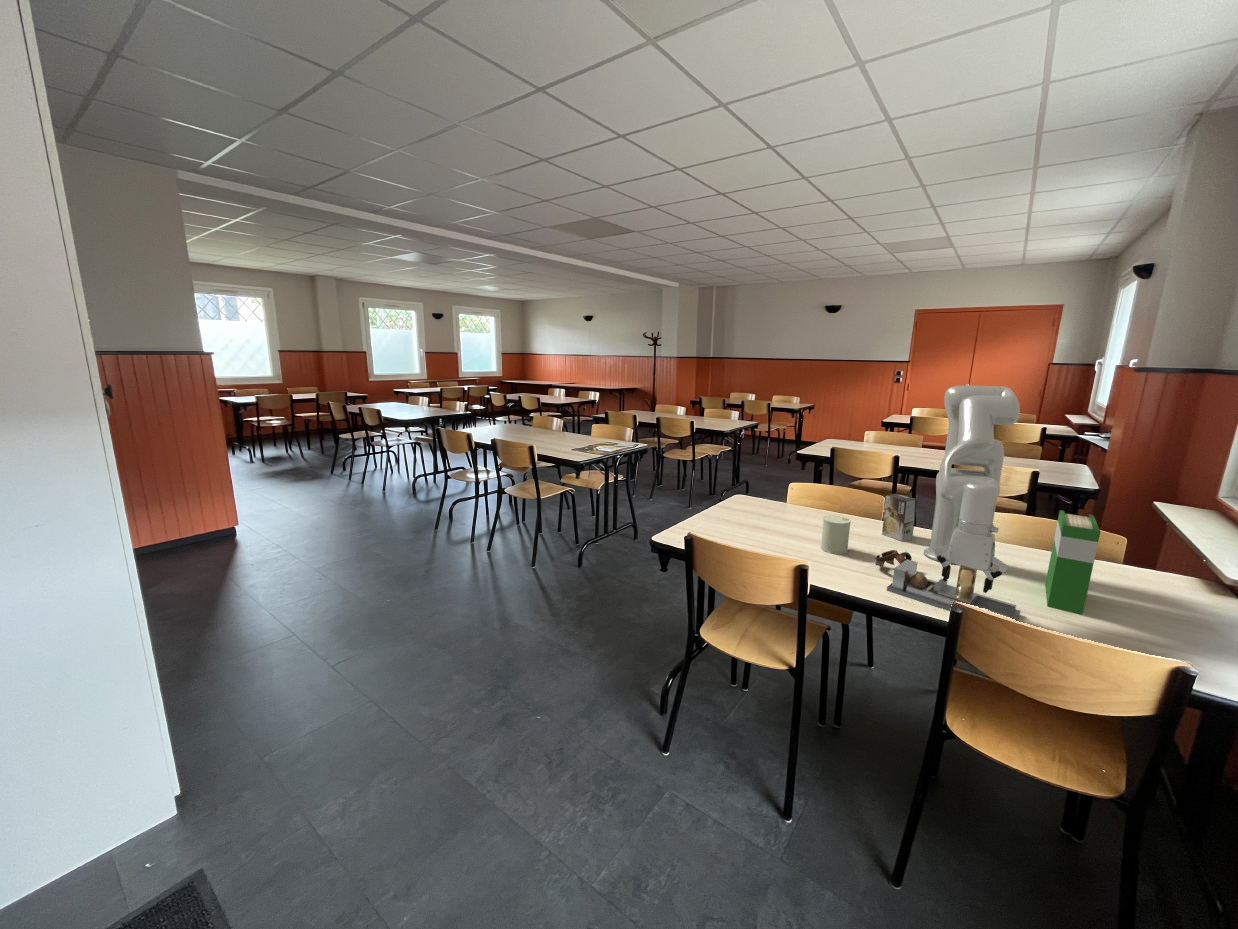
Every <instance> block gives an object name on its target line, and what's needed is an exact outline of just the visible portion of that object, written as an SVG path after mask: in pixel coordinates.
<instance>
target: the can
mask: <svg viewBox="0 0 1238 929" xmlns="http://www.w3.org/2000/svg"><path fill="white" fill-rule="evenodd" d="M851 522H852V521H851V519H850V518H849V517H845V516H841V515H836V514H834V515H833V514H831V515H830V514H829V515H824V516H823V520H822V532H821V543H820V550H822V551H823V552H825V553H828V554H834V555H845V554H847V553H848V552H849V548H848V547H849V541H850V540H849V538H850V529H851Z"/></svg>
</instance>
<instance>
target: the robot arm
mask: <svg viewBox="0 0 1238 929" xmlns="http://www.w3.org/2000/svg"><path fill="white" fill-rule="evenodd" d="M1019 402H1020V401H1019V399H1018V397H1017V395H1016V393H1015V392H1014V391H1013V389H1011V388H1010V387H1008V386H999V385H998V386H996V385H994V386H993V385H956V386H955V385H954V386H951V387H949V388H948V389H946V391H945V393H944V400H943V403H944V410H945V413H946V416H947V420H948V426H947V434H946V440H945V441H946V443H945V450H944V456H943V457H942V460H941V462H940V464H939V465H940V466H939V472H937V474H936V479H935V491H936V493H935V494H936V495H935V507H934V514H933V520H932V521H933V522H932V529H931V536H930V541H929V542H930V544H929V546H928V547H925V549H924V550H923V555H925V556H926V557H927V558H928V559H931V560H934V561H935V562H939V563H940V564H941V565H940V566H941V567H942V569H941V577H942V579H943V581H947V580H949V579H950V576H951V575H950V574H951V569H952V566H951V564H955V565H957V566H965V567H968V568H972V569H976V570H977V571H981V572H983V574H985V576H986V577H985V579H984V581H983V582H984V584H983V588H982V592H983V593H985V594H987V593H988V592H989V591H991V590H992V589H993V583H994V580H995V579H997V578H999V577H1001V576H1002V575H1003V574H1004V573H1006V571H1007V570H1008V569H1009V566H1008V565H1007V564H1006V563H1004V561H1003V560H1000V559H999V558H997V557H996V556H995V555H996V554H995V553H996V552H995V551H996V536H995V534H994V533H999V530H1000V529H999V527H996V526H995V525H994V518H995V513H996V507H997V500H998V498H999V496H1000V492H1001V491H1000V490H1001V486H1000V482H1001V475H1002V471H1003V470H1002V469H1003V465H1004V457H1005V449H1004V445H1003V442H1002V441H1000V440H999V439H997V438H996V439H995V438H994V434H995V433H994V429H995V428H994V426H995V425H999V426H1000V425H1002V426H1012V425H1014V424H1016V423H1017V421H1018V420H1019V417H1020V414H1021V413H1020V412H1021V411H1020V410H1021V409H1020V403H1019ZM953 465H957V466H966V467H976V468H977V467H979V468H983V470H978V469H977V470H976V469H968V468H957V467H956V468H955V467H954V468H953V467H952V466H953ZM994 565H995V566H997V567H998V568H999V569H998V570H996V571H994V570H993V569H992V568H993V566H994Z"/></svg>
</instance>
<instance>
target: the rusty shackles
mask: <svg viewBox="0 0 1238 929" xmlns="http://www.w3.org/2000/svg"><path fill="white" fill-rule="evenodd" d="M895 559H896V561H897V562H898V563H899V565H900V564H901V563H903V562H904V561H905V560H907V559H908V560H911V561H913V560H912V555H911V553H910V552H907V551H905V552H904V551H903V552H900V553H899V552H898V550H896V549H890V550H888V551H884V552H881V553H880V554H877V555H876V556H875V557H874V560H875V564H874V565H875V566H879V567H880V568H884V565H885V563H887V564H888V565H891V566H894V565H895V563H894V562H895Z"/></svg>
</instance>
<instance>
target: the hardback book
mask: <svg viewBox="0 0 1238 929" xmlns="http://www.w3.org/2000/svg"><path fill="white" fill-rule="evenodd" d="M1101 532H1102V531H1101V530H1100V527H1099V524H1098V523H1097V520H1096V518H1095V515H1093V514H1088V516H1084V515H1079V514H1078V515H1077V514H1071V513H1065V511H1064V510H1063V509H1062V510H1061V509H1060V510H1059V511H1058V517H1057V523H1056V528H1055V533H1054V537H1053V543H1052V548H1051V553H1050V558H1049V562H1048V563H1049V564H1048V567H1047V573H1046V577H1045V578H1046V579H1045V583H1044V588H1045V596H1046V606H1047V607H1048V608H1052V609H1057V610H1061V611H1065V612H1069V613H1073V614H1077V615H1084V610H1085V605H1086V599H1087V596H1088V591H1089V587H1090V582H1091V578H1092V572H1093V568H1094V563H1095V559H1096V554H1097V549H1098V547H1099V546H1098V545H1099V542H1100V540H1099V539H1100V536H1101Z"/></svg>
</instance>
